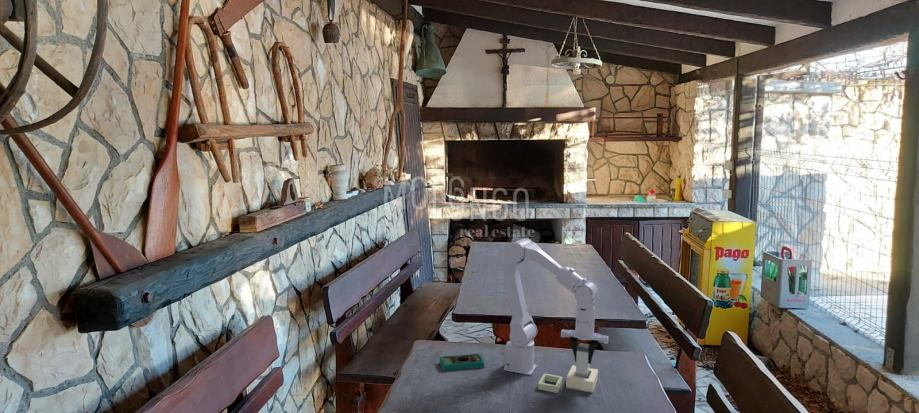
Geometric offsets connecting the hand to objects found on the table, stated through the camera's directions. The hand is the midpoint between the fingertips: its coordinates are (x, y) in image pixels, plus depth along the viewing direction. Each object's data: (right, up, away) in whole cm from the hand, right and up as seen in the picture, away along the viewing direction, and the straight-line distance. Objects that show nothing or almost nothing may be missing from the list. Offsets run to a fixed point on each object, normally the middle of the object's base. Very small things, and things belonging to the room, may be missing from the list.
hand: (583, 361), depth 179 cm
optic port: (0, -7, +1) cm, 8 cm away
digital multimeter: (-38, -6, +14) cm, 41 cm away
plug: (0, -3, 0) cm, 3 cm away
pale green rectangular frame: (-10, -8, -1) cm, 13 cm away
